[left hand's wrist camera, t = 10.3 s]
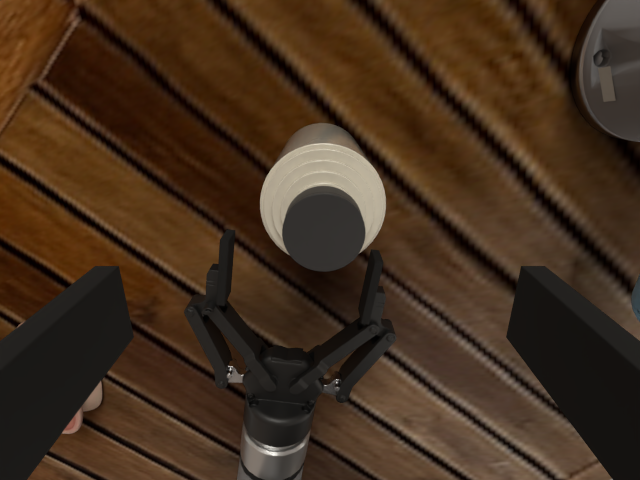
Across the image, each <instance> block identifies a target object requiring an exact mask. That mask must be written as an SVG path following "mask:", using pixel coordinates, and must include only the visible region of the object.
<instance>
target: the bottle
mask: <svg viewBox="0 0 640 480" xmlns="http://www.w3.org/2000/svg"><path fill="white" fill-rule="evenodd" d="M316 186H331V187H335V188H338V189H341V190H343V191H344V192H346V193H347V194H349V195H350V196H351V197H352V198H353V199H354V200H355V202H356V203H357V205H358V207H359V209H360V211H361V214H362V217H363V220H364V224H365V232H366V234H365V241H364V244H363V247H362V249H361V251H360V252H362V251H363V250H364V249H365V248H367V246H368V245H369V244H370V243H371V242H372V241H373V240H374V238H375V237H376V236H377V234H378V232H379V230H380V228H381V226H382V223H383V220H384V216H385V210H386V196H385V190H384V187H383V184H382V181H381V179H380V177H379V175H378V173H377V172H376V170H375V169H374V167H373V166H372V164H371V163H370V161H369V160H368V158H367V157H366V156H365V154H364V153H363V151H362V150H361V148H360V147H359V145H358V144H357V143H356V141H355V140H354V138H353V137H352V136H351V135H350V134H349V133H348V132H346V131H345V130H343V129H342V128H340V127H338V126H335V125H332V124H327V123H317V124H312V125H308V126H306V127H304V128H302V129H300V130H298V131H297V132H296V133H295V134H294V135H293V136H292V137H291V138H290V139H289V140H288V142H287V143H286V145H285V147H284V148H283V150H282V152H281V154H280V155H279V157H278V159H277V160H276V162H275V164H274V165H273V167H272V169H271V170H270V172H269V174H268V175H267V177H266V179H265V182H264V184H263V187H262V191H261V197H260V211H261V217H262V221H263V224H264V226H265V229H266V231H267V233H268V234H269V236H270V237H271V239H272V240H273V241H274V243H275V244H276V245H277V246H278V247H279V248H280V249H281V250H283V251H284V252H285V253H287V254H288V255H289V253H288V252H287V250H286V248H285V246H284V242H283V237H282V228H283V223H284V219H285V215H286V212H287V209H288V207H289V205H290V203H291V202H292V201H293V199H294V198H295V197H296V196H297V195H299V194H300V193H301V192H303V191H305V190H307V189H309V188H312V187H316Z"/></svg>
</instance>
